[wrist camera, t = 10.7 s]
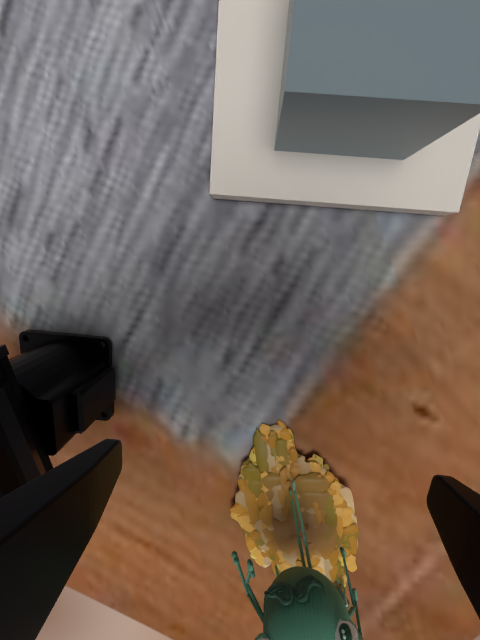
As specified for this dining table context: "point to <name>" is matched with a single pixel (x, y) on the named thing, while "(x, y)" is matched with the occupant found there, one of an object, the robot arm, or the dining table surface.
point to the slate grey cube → (377, 75)
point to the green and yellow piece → (297, 540)
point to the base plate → (308, 168)
